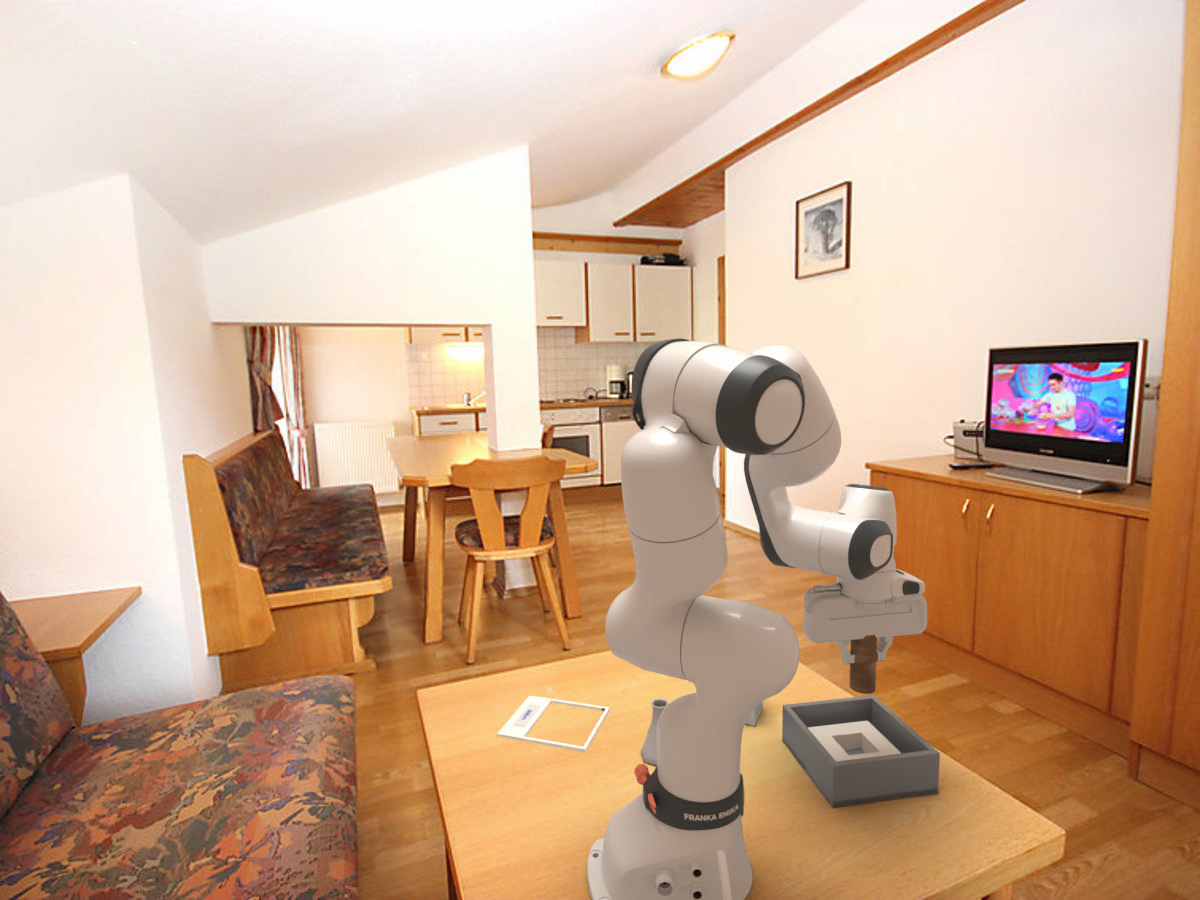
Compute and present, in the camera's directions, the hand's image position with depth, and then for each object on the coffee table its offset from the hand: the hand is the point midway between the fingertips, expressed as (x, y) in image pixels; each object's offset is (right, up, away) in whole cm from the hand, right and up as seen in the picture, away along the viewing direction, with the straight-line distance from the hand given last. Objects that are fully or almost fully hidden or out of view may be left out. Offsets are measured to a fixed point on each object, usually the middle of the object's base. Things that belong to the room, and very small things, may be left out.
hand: (863, 661), depth 102 cm
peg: (0, -5, +1) cm, 5 cm away
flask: (-33, -20, +8) cm, 39 cm away
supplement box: (-16, -18, +21) cm, 31 cm away
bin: (0, -19, +4) cm, 20 cm away
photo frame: (-53, -19, +19) cm, 59 cm away
